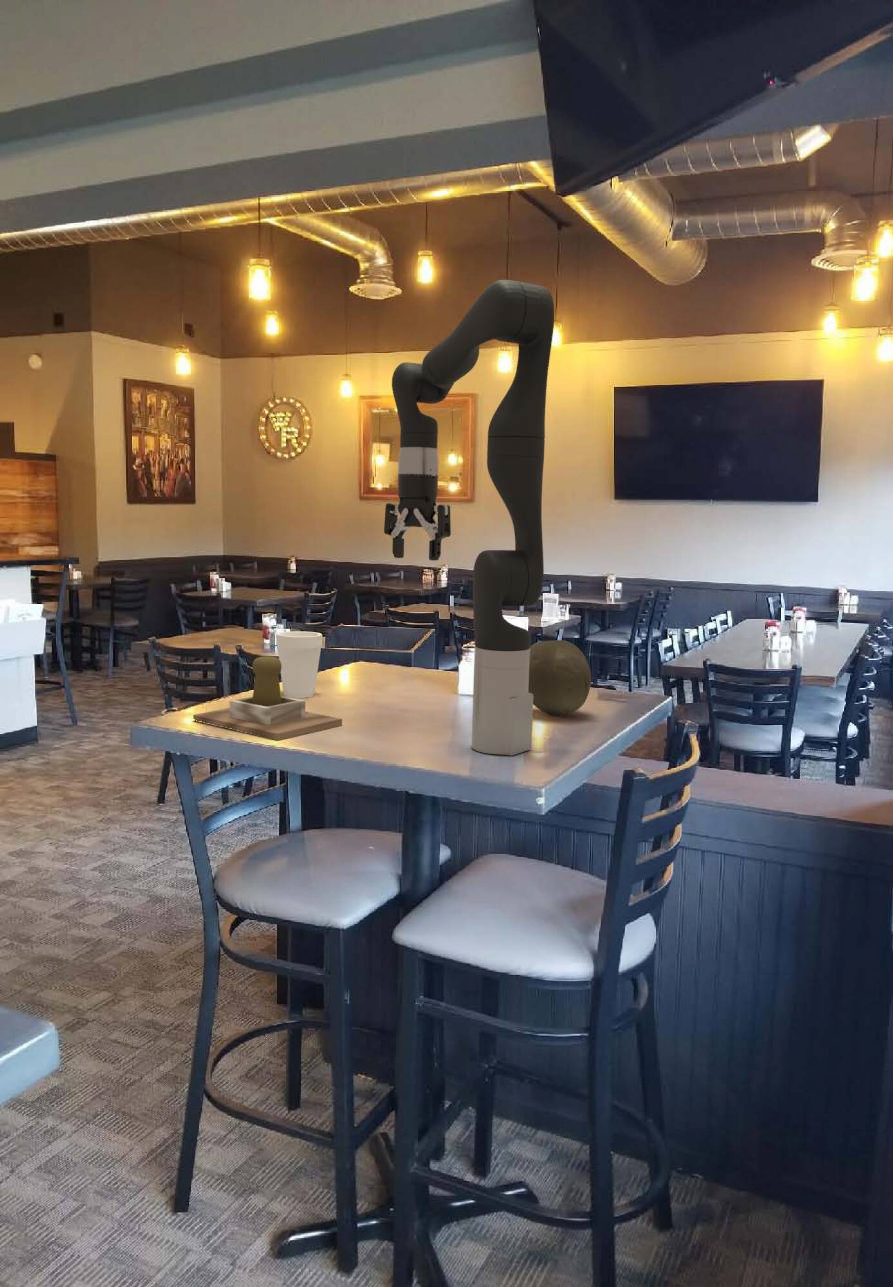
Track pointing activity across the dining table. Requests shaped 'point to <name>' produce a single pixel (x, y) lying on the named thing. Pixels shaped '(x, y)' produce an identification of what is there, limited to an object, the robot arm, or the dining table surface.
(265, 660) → the olive pepper mill
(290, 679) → the foam cup
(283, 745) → the dining table surface
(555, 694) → the cantaloupe
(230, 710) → the brown board with dish
